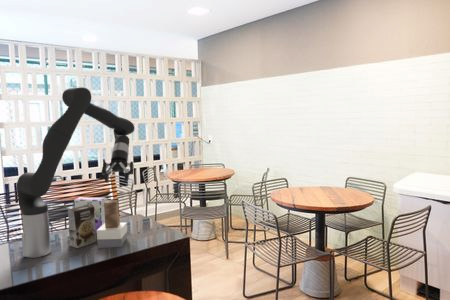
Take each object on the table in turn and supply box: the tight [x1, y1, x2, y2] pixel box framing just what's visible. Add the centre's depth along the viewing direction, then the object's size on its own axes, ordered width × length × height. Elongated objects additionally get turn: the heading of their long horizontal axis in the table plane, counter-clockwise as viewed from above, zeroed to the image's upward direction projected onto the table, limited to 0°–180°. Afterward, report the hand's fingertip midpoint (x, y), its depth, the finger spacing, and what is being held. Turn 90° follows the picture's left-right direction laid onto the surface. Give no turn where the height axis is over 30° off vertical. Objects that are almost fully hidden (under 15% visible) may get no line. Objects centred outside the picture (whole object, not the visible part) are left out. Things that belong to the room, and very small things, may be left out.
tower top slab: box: [96, 222, 128, 241], centre depth 153 cm, size 10×10×4 cm
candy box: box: [73, 196, 107, 235], centre depth 169 cm, size 14×6×16 cm, turn 81°
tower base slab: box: [96, 232, 127, 249], centre depth 154 cm, size 10×10×4 cm
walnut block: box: [104, 199, 121, 228], centre depth 153 cm, size 5×5×11 cm
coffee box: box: [67, 205, 97, 249], centre depth 153 cm, size 9×6×16 cm
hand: (116, 181), depth 163 cm, fingers open, 8 cm apart
